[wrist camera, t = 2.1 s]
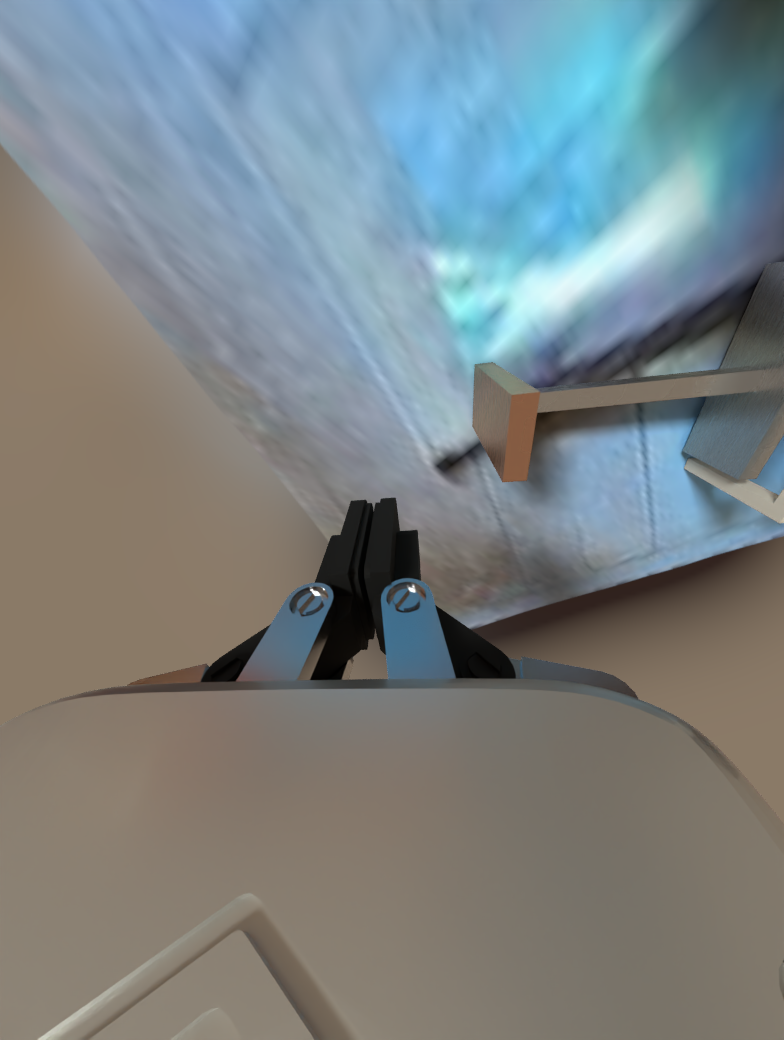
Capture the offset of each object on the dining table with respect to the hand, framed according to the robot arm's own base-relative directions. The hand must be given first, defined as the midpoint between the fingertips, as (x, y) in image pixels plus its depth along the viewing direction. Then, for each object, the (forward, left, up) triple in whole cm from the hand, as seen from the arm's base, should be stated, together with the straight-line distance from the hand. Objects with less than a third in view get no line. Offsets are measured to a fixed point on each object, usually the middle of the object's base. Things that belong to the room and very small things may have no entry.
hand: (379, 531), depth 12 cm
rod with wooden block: (0, +17, -18) cm, 24 cm away
